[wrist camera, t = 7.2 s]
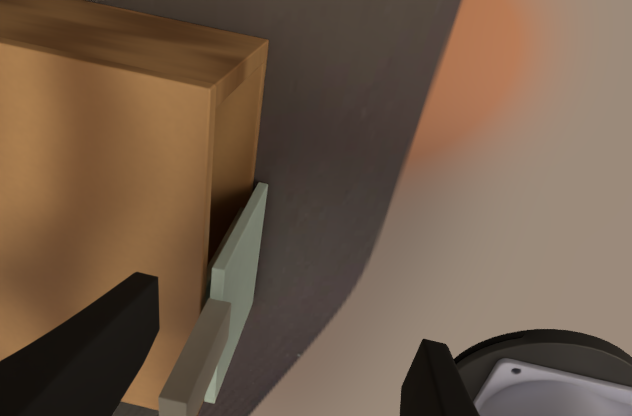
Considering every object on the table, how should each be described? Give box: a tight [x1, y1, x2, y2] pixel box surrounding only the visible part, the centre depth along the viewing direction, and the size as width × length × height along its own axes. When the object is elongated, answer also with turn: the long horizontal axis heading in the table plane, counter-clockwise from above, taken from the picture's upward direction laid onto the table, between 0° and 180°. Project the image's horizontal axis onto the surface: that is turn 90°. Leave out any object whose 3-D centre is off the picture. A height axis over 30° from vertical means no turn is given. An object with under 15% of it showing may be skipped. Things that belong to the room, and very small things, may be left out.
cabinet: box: [0, 0, 269, 416], centre depth 20 cm, size 10×16×7 cm, turn 171°
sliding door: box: [158, 182, 268, 416], centre depth 19 cm, size 1×8×11 cm, turn 171°
